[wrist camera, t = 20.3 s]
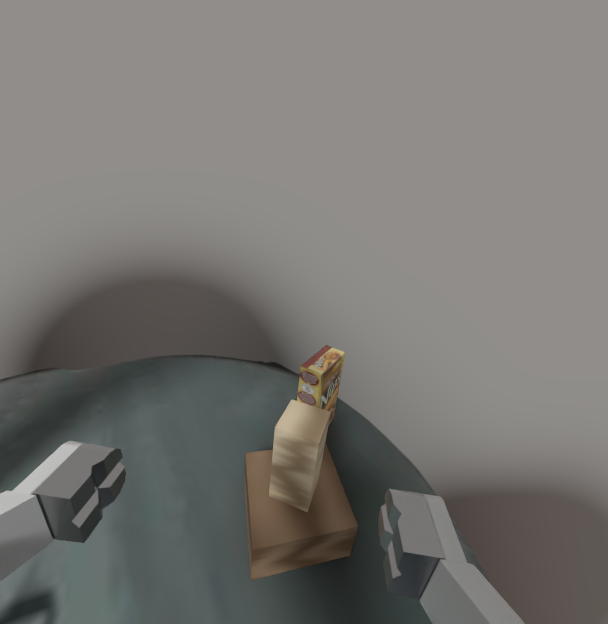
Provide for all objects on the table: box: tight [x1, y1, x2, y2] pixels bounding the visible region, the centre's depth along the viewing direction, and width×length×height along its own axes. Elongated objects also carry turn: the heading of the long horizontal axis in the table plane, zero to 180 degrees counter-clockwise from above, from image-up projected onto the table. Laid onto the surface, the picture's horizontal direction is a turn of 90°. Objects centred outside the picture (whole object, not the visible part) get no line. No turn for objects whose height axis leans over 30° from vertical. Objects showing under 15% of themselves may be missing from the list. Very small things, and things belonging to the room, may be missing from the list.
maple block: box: [269, 400, 331, 512], centre depth 34 cm, size 5×5×11 cm
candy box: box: [297, 345, 345, 426], centre depth 50 cm, size 9×4×15 cm, turn 148°
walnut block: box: [244, 443, 358, 580], centre depth 38 cm, size 12×12×6 cm
